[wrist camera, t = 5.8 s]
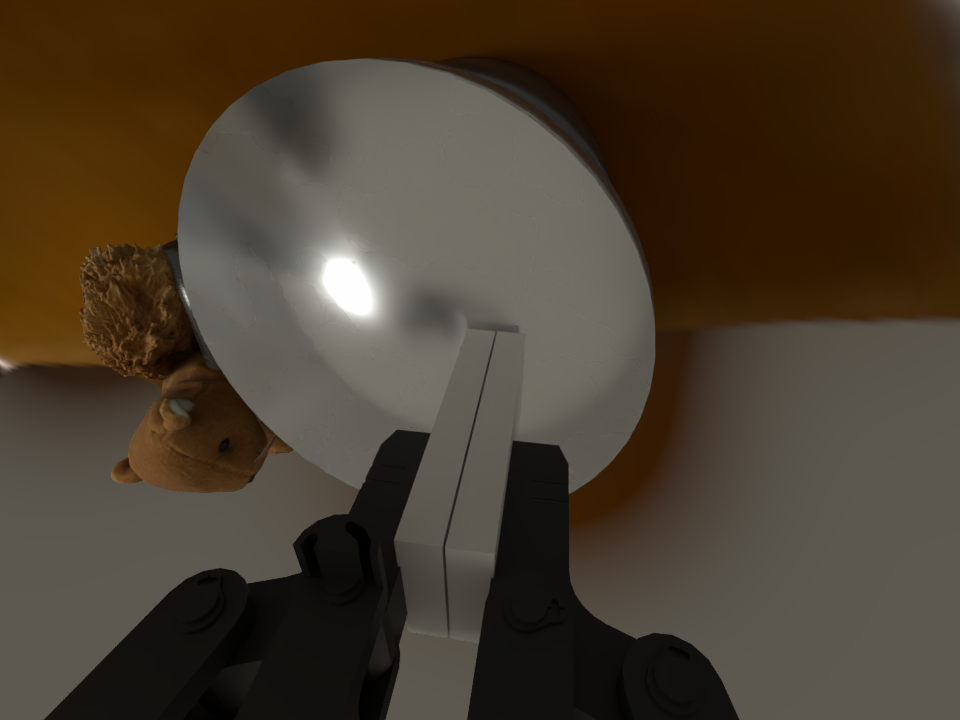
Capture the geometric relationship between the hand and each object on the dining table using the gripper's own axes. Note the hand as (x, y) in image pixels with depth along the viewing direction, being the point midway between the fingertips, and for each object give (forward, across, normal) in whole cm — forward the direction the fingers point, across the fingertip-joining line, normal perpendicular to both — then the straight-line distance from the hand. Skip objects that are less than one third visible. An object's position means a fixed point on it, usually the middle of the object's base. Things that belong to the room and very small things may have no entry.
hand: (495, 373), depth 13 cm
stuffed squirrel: (+15, -17, -8) cm, 24 cm away
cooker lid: (+2, -3, 0) cm, 4 cm away
